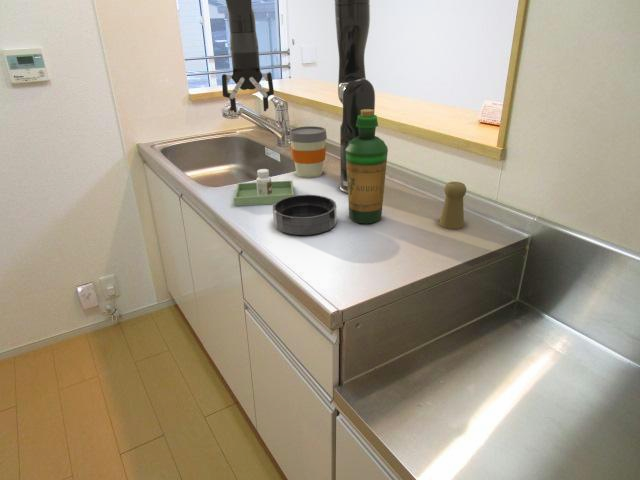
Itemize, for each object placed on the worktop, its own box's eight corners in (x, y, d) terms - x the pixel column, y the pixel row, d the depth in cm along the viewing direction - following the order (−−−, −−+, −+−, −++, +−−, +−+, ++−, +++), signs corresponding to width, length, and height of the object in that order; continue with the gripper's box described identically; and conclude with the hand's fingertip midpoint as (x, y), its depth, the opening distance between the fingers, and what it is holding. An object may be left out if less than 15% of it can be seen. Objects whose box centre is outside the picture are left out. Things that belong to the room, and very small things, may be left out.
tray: (292, 188, 143) (292, 180, 142) (294, 202, 131) (293, 194, 130) (238, 190, 142) (237, 183, 141) (234, 206, 130) (233, 198, 129)
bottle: (339, 223, 117) (339, 113, 105) (351, 209, 126) (352, 105, 114) (380, 228, 113) (384, 115, 101) (389, 213, 122) (394, 107, 110)
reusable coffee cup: (318, 166, 164) (317, 124, 157) (333, 175, 153) (332, 131, 147) (286, 171, 159) (283, 128, 153) (299, 181, 149) (297, 136, 142)
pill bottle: (272, 197, 135) (270, 172, 131) (257, 198, 134) (255, 173, 131) (272, 192, 139) (270, 167, 135) (258, 193, 138) (255, 168, 135)
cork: (464, 220, 116) (469, 180, 111) (463, 230, 111) (468, 188, 106) (440, 218, 118) (444, 178, 113) (438, 227, 113) (442, 186, 108)
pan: (332, 210, 125) (332, 193, 123) (339, 234, 111) (339, 215, 109) (274, 213, 124) (273, 196, 122) (274, 238, 110) (272, 219, 108)
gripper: (271, 49, 126) (274, 108, 134) (219, 50, 125) (226, 110, 132) (270, 50, 120) (275, 112, 127) (216, 52, 119) (224, 115, 126)
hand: (250, 111), depth 130 cm, fingers open, 8 cm apart
